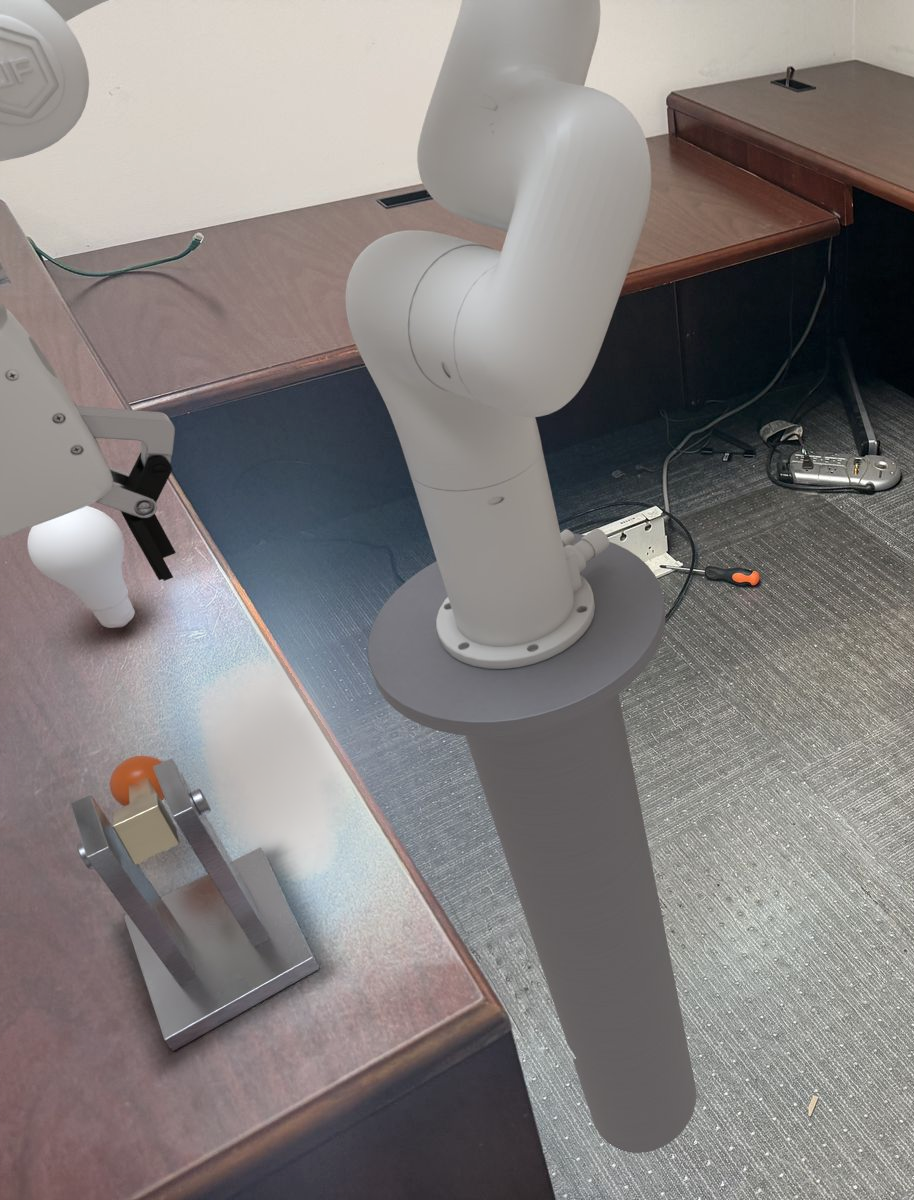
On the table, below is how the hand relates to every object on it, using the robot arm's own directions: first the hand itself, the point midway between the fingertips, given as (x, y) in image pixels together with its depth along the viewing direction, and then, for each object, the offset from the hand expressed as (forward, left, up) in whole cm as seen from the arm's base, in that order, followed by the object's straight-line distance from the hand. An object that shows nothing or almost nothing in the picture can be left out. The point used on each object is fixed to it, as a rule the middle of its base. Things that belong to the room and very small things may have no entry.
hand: (68, 605), depth 59 cm
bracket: (+5, +10, -19) cm, 22 cm away
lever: (+3, +6, -11) cm, 13 cm away
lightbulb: (-8, -24, -19) cm, 32 cm away
